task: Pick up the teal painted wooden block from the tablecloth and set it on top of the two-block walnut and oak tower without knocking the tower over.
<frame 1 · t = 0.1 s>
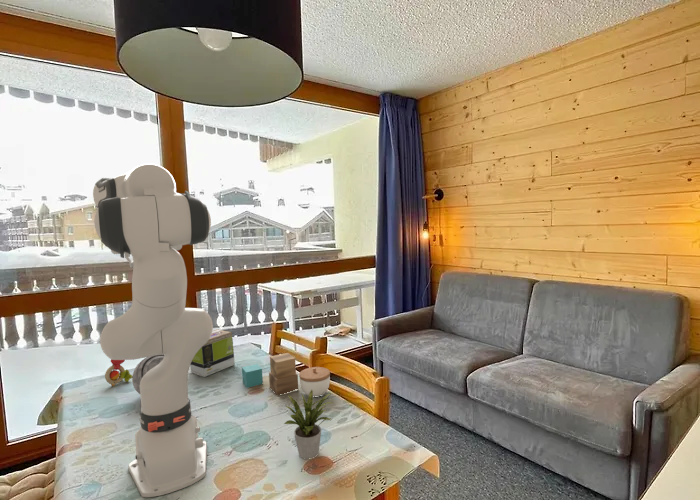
hand: (149, 266, 126), 48 cm above the table, tool pointing down, fingers open, 8 cm apart
lidded jar: (315, 394, 137), on the table
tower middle: (283, 373, 141), point 6 cm above the table, touching tower bottom
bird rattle: (119, 383, 152), on the table
tower bottom: (283, 389, 142), on the table, touching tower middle
teal block: (252, 383, 148), on the table
house plant: (311, 456, 102), on the table
decorative orb: (157, 396, 140), on the table
tea box: (212, 369, 164), on the table
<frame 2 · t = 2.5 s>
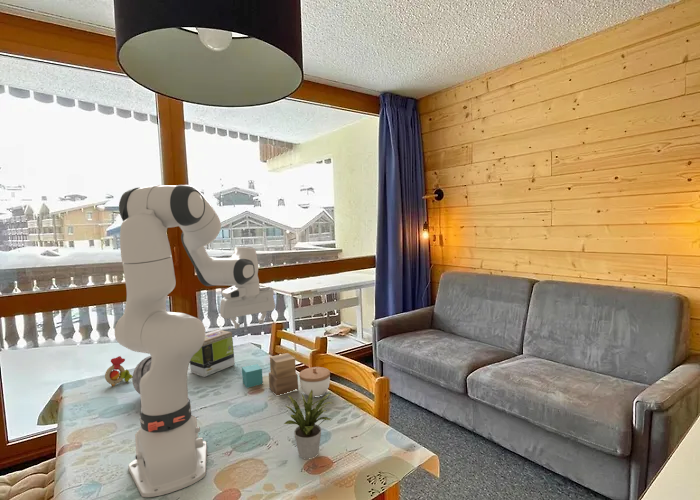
hand: (249, 325, 147), 22 cm above the table, tool pointing down, fingers open, 8 cm apart
nothing on the table moved.
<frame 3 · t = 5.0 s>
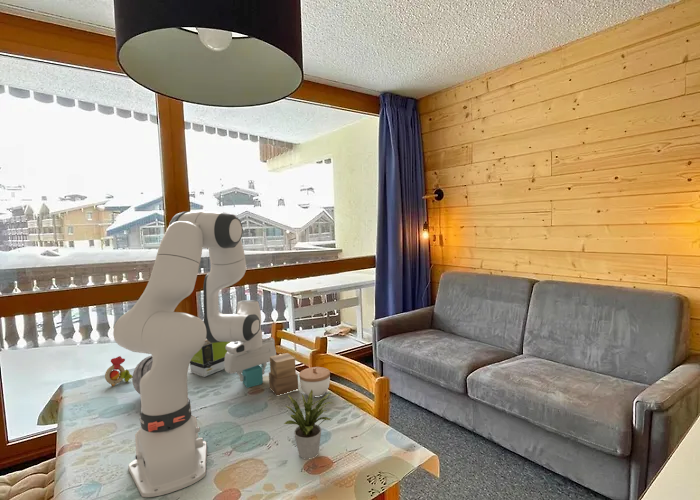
hand: (252, 377, 148), 2 cm above the table, tool pointing down, fingers closed on teal block, 7 cm apart
teal block: (252, 383, 148), on the table, touching gripper
everything else where it was.
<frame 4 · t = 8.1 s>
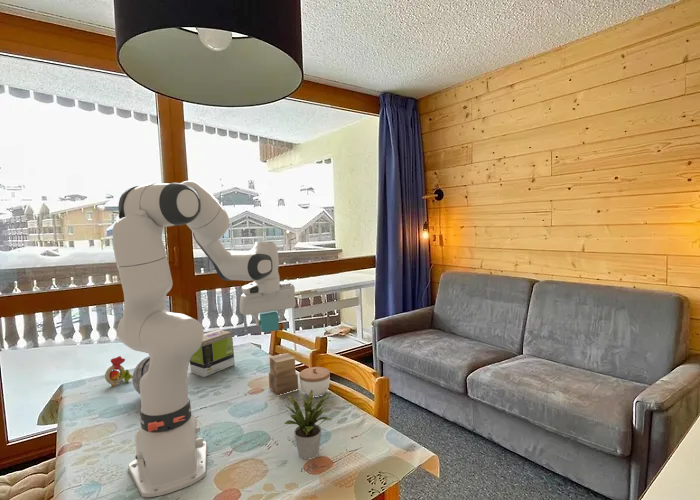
hand: (269, 323, 142), 24 cm above the table, tool pointing down, fingers closed on teal block, 6 cm apart
teal block: (269, 329, 142), point 22 cm above the table, touching gripper
everything else where it was.
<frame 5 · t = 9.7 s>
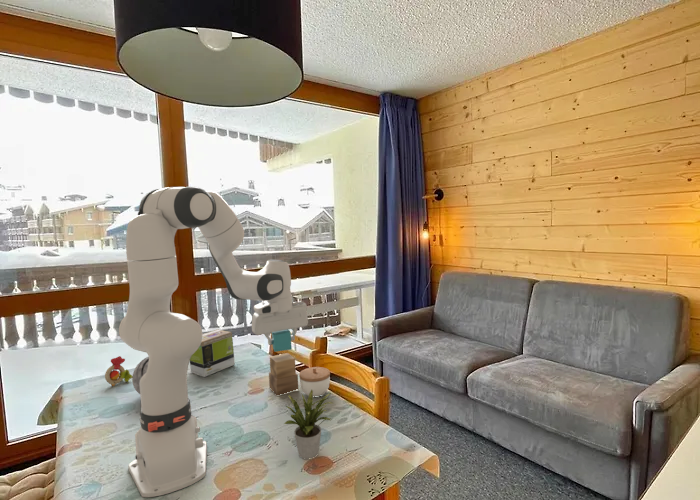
hand: (281, 342, 141), 17 cm above the table, tool pointing down, fingers closed on teal block, 6 cm apart
teal block: (281, 347, 141), point 15 cm above the table, touching gripper
everything else where it was.
when the fingers open (15 cm above the table, at t = 11.1 s): teal block drops 1 cm, resting on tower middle.
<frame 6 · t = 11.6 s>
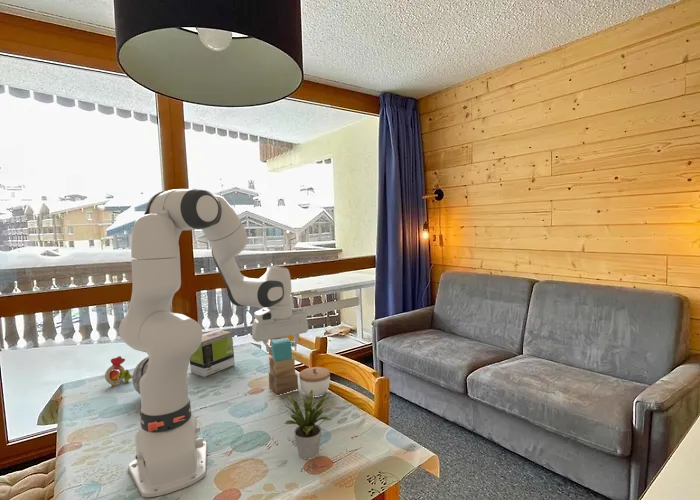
hand: (281, 348, 141), 15 cm above the table, tool pointing down, fingers open, 8 cm apart
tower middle: (282, 373, 141), point 6 cm above the table, touching teal block, tower bottom
teal block: (281, 357, 141), point 12 cm above the table, touching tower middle
everything else where it was.
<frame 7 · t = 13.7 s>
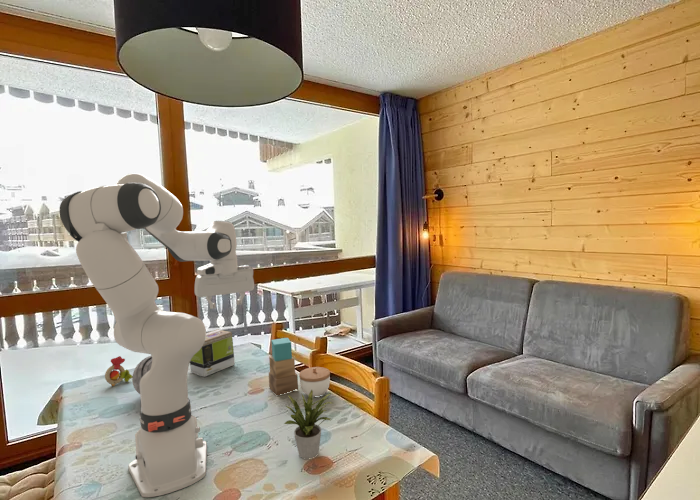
hand: (226, 306, 138), 32 cm above the table, tool pointing down, fingers open, 8 cm apart
nothing on the table moved.
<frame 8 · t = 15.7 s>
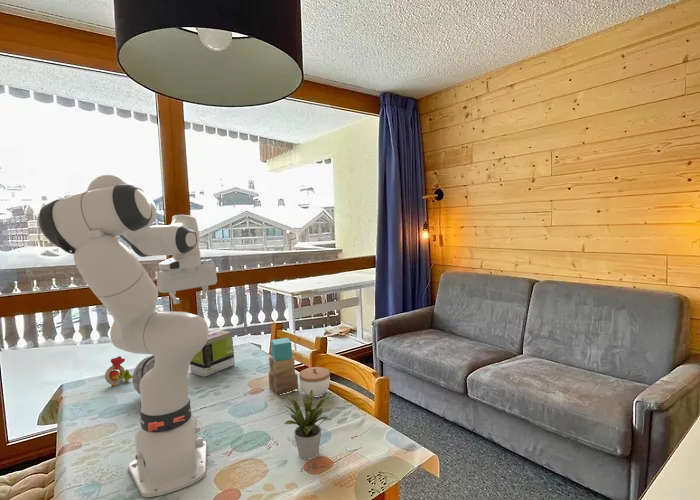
hand: (189, 301, 136), 34 cm above the table, tool pointing down, fingers open, 8 cm apart
nothing on the table moved.
at the end: teal block 0.2 cm off-centre on the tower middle, point 6.0 cm above the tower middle's base; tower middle tilted 0°; the gripper is holding nothing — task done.
